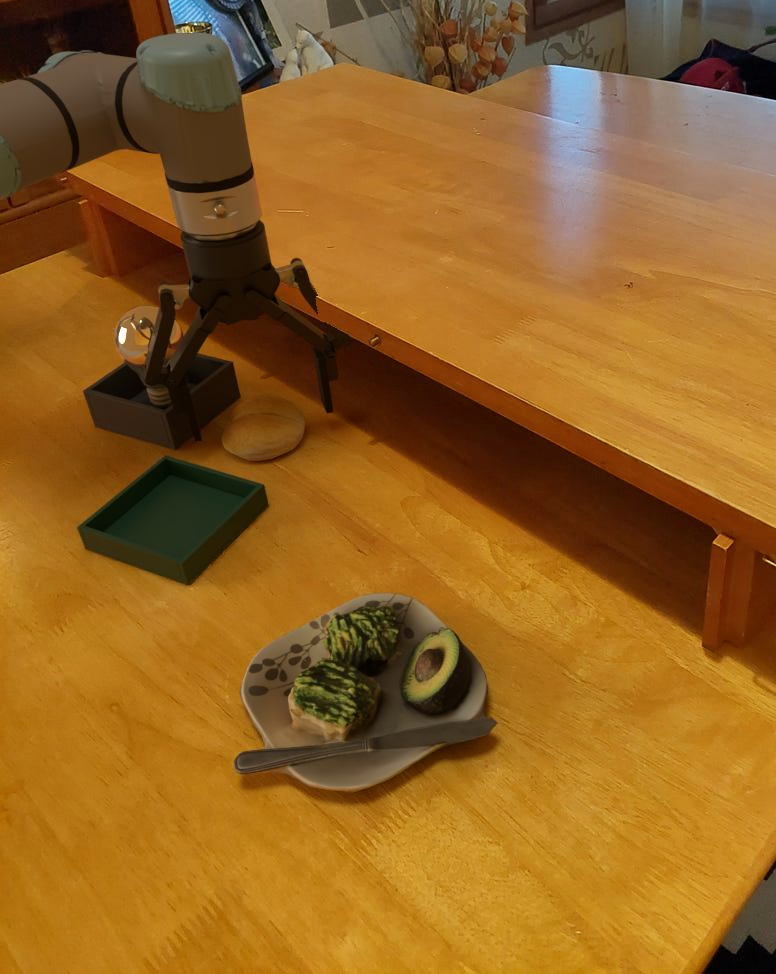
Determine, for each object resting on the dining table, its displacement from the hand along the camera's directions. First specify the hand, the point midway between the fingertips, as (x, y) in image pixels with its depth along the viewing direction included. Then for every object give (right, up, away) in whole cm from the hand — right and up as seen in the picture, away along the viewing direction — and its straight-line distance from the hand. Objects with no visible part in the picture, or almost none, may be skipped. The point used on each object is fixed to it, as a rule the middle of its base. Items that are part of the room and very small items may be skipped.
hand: (263, 420), depth 97 cm
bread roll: (0, -2, +2) cm, 3 cm away
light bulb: (-12, +2, +6) cm, 13 cm away
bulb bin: (-12, +1, +6) cm, 13 cm away
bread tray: (-6, -11, -10) cm, 15 cm away
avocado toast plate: (+14, -23, -26) cm, 37 cm away
